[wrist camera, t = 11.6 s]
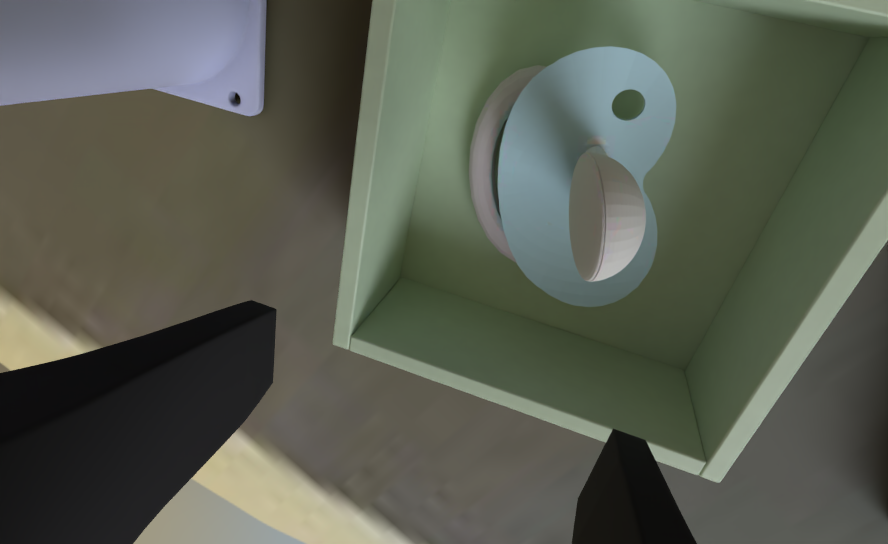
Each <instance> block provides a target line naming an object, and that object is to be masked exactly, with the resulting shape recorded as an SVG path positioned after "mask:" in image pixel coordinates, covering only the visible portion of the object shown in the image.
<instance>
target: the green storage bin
mask: <svg viewBox="0 0 888 544" xmlns="http://www.w3.org/2000/svg"><path fill="white" fill-rule="evenodd" d="M607 46H613V47H621V48H628V49H631V50H634V51H637V52H640V53H642V54H644V55H646V56H647V57H649V58H650V59H652V60H653V61H655V62H656V63H657V64H658V65H659V66H660V67H661V68H662V69H663V70H664V71H665V73H666V74H667V76H668V78H669V80H670V82H671V84H672V86H673V89H674V93H675V98H676V117H675V124H674V127H673V131H672V135H671V138H670V140H669V142H668V144H667V146H666V148H665V150H664V152H663V153H662V155H661V156H660V158H659V159H658V161H657V162H656V164H655V165H654V166H653V167H652V168H651V169H650V170H649V171H648V172H647V173H646V175H645V177H644V180H643V189H644V192H645V194H646V195H647V196H648V198H649V200H650V202H651V205H652V208H653V211H654V213H655V217H656V223H657V247H656V252H655V256H654V260H653V263H652V266H651V268H650V270H649V271H648V273H647V275H646V276H645V278H644V279H643V280H642V282H641V283H640V284H639V286H638V287H637V288H636V289H634V290H633V291H632V292H631V293H629V294H628V295H627V296H626V297H624V298H622V299H620V300H618V301H616V302H614V303H610V304H607V305H603V306H597V307H584V306H574V305H571V304H568V303H565V302H562V301H560V300H558V299H556V298H554V297H552V296H550V295H548V294H547V293H546V292H545V291H543V290H542V289H541V288H539V287H537V286H536V285H535V284H534V283H533V282H532V281H531V280H529V279H528V278H527V277H526V275H525V274H524V272H523V271H522V270H521V269H520V267H519V266H518V265H517V263H516V262H514V261H512V260H511V259H509V258H508V257H506V256H505V255H503V254H502V253H500V252H499V251H498V249H497V248H496V247H495V246H494V245H493V244H492V242H491V241H490V240H489V239H488V238H487V236H486V234H485V232H484V230H483V228H482V226H481V224H480V222H479V221H478V218H477V215H476V211H475V208H474V204H473V201H472V198H471V189H470V180H469V160H470V146H471V142H472V138H473V134H474V130H475V126H476V122H477V120H478V118H479V116H480V114H481V111H482V109H483V107H484V105H485V103H486V101H487V99H488V98H489V97H490V95H491V94H492V93H493V92H494V90H495V89H496V88H497V87H498V85H499V84H500V83H501V82H502V81H503V80H505V79H506V78H507V77H509V76H510V75H512V74H513V73H515V72H516V71H518V70H520V69H524V68H528V67H532V66H536V65H540V66H545V67H547V66H549V65H551V64H553V63H555V62H556V61H558V60H559V59H561V58H563V57H565V56H568V55H570V54H572V53H575V52H577V51H581V50H585V49H589V48H593V47H607ZM643 107H644V97H643V95H642V94H641V93H640V92H638V91H636V90H632V89H629V90H624V91H622V92H620V93H619V94H617V95H616V96H615V98H614V100H613V102H612V110H613V113H614V114H615V115H616V116H617V117H619V118H621V119H631V118H634V117H636V116H637V115H638V114H640V112H641V111H642V109H643ZM507 121H508V120H507ZM506 123H507V122H506ZM505 126H506V125H505ZM504 129H505V127H504ZM504 129H503V131H502V133H501V136H500V139H499V143H498V147H497V151H496V159H495V171H494V172H495V184H496V191H497V195H498V164H499V153H500V147H501V142H502V138H503V134H504ZM498 199H499V197H498ZM887 240H888V0H372V8H371V17H370V25H369V34H368V42H367V51H366V59H365V68H364V76H363V85H362V94H361V102H360V111H359V119H358V128H357V136H356V145H355V154H354V162H353V171H352V179H351V188H350V196H349V205H348V213H347V222H346V231H345V239H344V248H343V256H342V265H341V273H340V282H339V290H338V299H337V308H336V316H335V325H334V333H333V342H332V343H333V344H334V345H336V346H339V347H342V348H345V349H350V351H353V352H356V353H358V354H361V355H364V356H367V357H370V358H372V359H375V360H378V361H381V362H383V363H386V364H389V365H392V366H395V367H397V368H400V369H403V370H406V371H409V372H411V373H414V374H417V375H420V376H422V377H425V378H428V379H431V380H434V381H436V382H439V383H442V384H445V385H447V386H450V387H453V388H456V389H459V390H461V391H464V392H467V393H470V394H472V395H475V396H478V397H481V398H484V399H486V400H489V401H492V402H495V403H497V404H500V405H503V406H506V407H509V408H511V409H514V410H517V411H520V412H522V413H525V414H528V415H531V416H534V417H536V418H539V419H542V420H545V421H548V422H550V423H553V424H556V425H559V426H561V427H564V428H567V429H570V430H573V431H575V432H578V433H581V434H584V435H586V436H589V437H592V438H595V439H598V440H600V441H603V442H607V440H608V438H609V436H610V434H611V432H612V430H613V429H616V430H619V431H622V432H625V433H627V434H630V435H633V436H636V437H639V438H641V439H644V440H646V442H647V444H648V446H649V448H650V450H651V452H652V454H653V456H654V458H655V460H656V461H659V462H661V463H664V464H667V465H670V466H673V467H675V468H678V469H681V470H684V471H686V472H689V473H692V474H695V475H698V474H699V475H700V476H701V477H703V478H706V479H709V480H712V481H714V482H717V483H720V482H721V480H722V479H723V478H724V476H725V475H726V473H727V472H728V470H729V469H730V467H731V466H732V464H733V463H734V462H735V460H736V459H737V457H738V456H739V454H740V453H741V451H742V450H743V449H744V447H745V446H746V444H747V443H748V441H749V440H750V438H751V437H752V436H753V434H754V433H755V431H756V430H757V428H758V427H759V425H760V424H761V423H762V421H763V420H764V418H765V417H766V415H767V414H768V412H769V411H770V410H771V408H772V407H773V405H774V404H775V402H776V401H777V399H778V398H779V397H780V395H781V394H782V392H783V391H784V389H785V388H786V386H787V385H788V383H789V382H790V381H791V379H792V378H793V376H794V375H795V373H796V372H797V370H798V369H799V368H800V366H801V365H802V363H803V362H804V360H805V359H806V357H807V356H808V355H809V353H810V352H811V350H812V349H813V347H814V346H815V344H816V343H817V342H818V340H819V339H820V337H821V336H822V334H823V333H824V331H825V330H826V329H827V327H828V326H829V324H830V323H831V321H832V320H833V318H834V317H835V316H836V314H837V313H838V311H839V310H840V308H841V307H842V305H843V304H844V302H845V301H846V300H847V298H848V297H849V295H850V294H851V292H852V291H853V289H854V288H855V287H856V285H857V284H858V282H859V281H860V279H861V278H862V276H863V275H864V274H865V272H866V271H867V269H868V268H869V266H870V265H871V263H872V262H873V261H874V259H875V258H876V256H877V255H878V253H879V252H880V250H881V249H882V248H883V246H884V245H885V243H886V242H887Z"/></svg>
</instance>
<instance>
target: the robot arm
mask: <svg viewBox="0 0 888 544" xmlns="http://www.w3.org/2000/svg"><path fill="white" fill-rule="evenodd" d="M266 6H267V0H0V106H1V105H9V104H18V103H27V102H36V101H45V100H54V99H62V98H71V97H80V96H89V95H98V94H107V93H115V92H124V91H133V90H142V89H151V88H152V89H155V90H159V91H162V92H166V93H169V94H173V95H176V96H180V97H183V98H187V99H190V100H194V101H197V102H201V103H204V104H207V105H211V106H214V107H218V108H221V109H225V110H228V111H232V112H235V113H239V114H242V115H246V116H254V115H257V114H259V113H261V111H262V110H263V106H264V78H265V42H266ZM236 93H238V95H239V96H240V100H241V102H240V104H238V103H237V101H236V99H235V94H236ZM275 328H276V309H275V308H272V307H269V306H266V305H263V304H261V303H258V302H255V301H252V300H250V301H247V302H243V303H240V304H237V305H233V306H230V307H227V308H224V309H221V310H218V311H215V312H212V313H209V314H206V315H203V316H201V317H198V318H195V319H192V320H189V321H186V322H183V323H180V324H177V325H174V326H171V327H168V328H165V329H162V330H159V331H156V332H153V333H150V334H147V335H144V336H140V337H137V338H134V339H130V340H127V341H124V342H120V343H117V344H114V345H110V346H107V347H104V348H100V349H97V350H94V351H90V352H87V353H83V354H80V355H76V356H72V357H68V358H64V359H60V360H56V361H52V362H48V363H44V364H39V365H35V366H31V367H26V368H22V369H18V370H13V371H8V372H4V373H0V544H133V543H134V542H135V540H136V539H137V538H138V537H139V535H140V534H141V533H142V532H143V530H144V529H145V528H146V527H147V526H148V524H149V523H150V522H151V521H152V520H153V519H154V518H155V516H156V515H157V514H158V513H159V512H160V511H161V510H162V509H163V507H164V506H165V505H166V504H167V503H168V502H169V501H170V500H171V499H172V498H173V497H174V496H175V495H176V494H177V493H178V491H179V490H180V489H181V488H182V487H183V486H184V485H185V484H186V483H187V482H188V481H189V480H190V479H191V478H192V477H193V476H194V475H195V474H196V473H197V471H198V470H199V469H200V468H201V467H202V466H203V465H204V464H205V463H206V462H207V461H208V460H209V459H210V458H211V457H212V456H213V455H214V454H215V453H216V451H217V450H218V449H219V448H220V447H221V446H222V445H223V444H224V443H225V442H226V441H227V440H228V439H229V438H230V437H231V435H232V434H233V433H234V432H235V431H236V430H237V429H238V428H239V427H240V426H241V425H242V424H243V422H244V421H245V420H246V419H247V417H248V416H249V415H250V413H251V412H252V411H253V409H254V408H255V407H256V405H257V404H258V403H259V401H260V400H261V399H262V397H263V396H264V394H265V393H266V391H267V390H268V389H269V387H270V386H271V384H272V383H273V369H274V349H275ZM572 544H697V543H696V541H695V539H694V537H693V536H692V534H691V532H690V530H689V528H688V526H687V524H686V522H685V520H684V518H683V516H682V514H681V512H680V510H679V508H678V506H677V504H676V502H675V500H674V498H673V496H672V494H671V492H670V490H669V488H668V485H667V483H666V481H665V479H664V477H663V475H662V473H661V471H660V469H659V467H658V464H657V462H656V460H655V458H654V456H653V454H652V452H651V450H650V448H649V446H648V444H647V442H646V440H644V439H641V438H639V437H636V436H633V435H630V434H627V433H625V432H622V431H619V430H616V429H613V430H612V432H611V434H610V436H609V438H608V440H607V442H606V444H605V446H604V448H603V450H602V452H601V454H600V456H599V458H598V460H597V462H596V464H595V466H594V468H593V470H592V472H591V474H590V476H589V478H588V480H587V482H586V484H585V486H584V488H583V490H582V492H581V494H580V496H579V498H578V502H577V509H576V516H575V523H574V531H573V539H572Z"/></svg>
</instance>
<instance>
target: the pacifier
mask: <svg viewBox="0 0 888 544" xmlns="http://www.w3.org/2000/svg"><path fill="white" fill-rule="evenodd" d="M629 89H632V90H636V91H638V92H640V93H641V94H642V95H643V97H644V107H643V109H642V111H641V112H640V114H638V115H637V116H636V117H634V118H631V119H621V118H619V117H617V116H616V115H615V114H614V113H613V110H612V102H613V100H614V98H615V96H616V95H617V94H619V93H620V92H622V91H624V90H629ZM675 117H676V98H675V93H674V89H673V86H672V84H671V82H670V80H669V78H668V76H667V74H666V73H665V71H664V70H663V69H662V68H661V67H660V66H659V65H658V64H657V63H656V62H655V61H653V60H652V59H650V58H649V57H647V56H646V55H644V54H642V53H640V52H637V51H634V50H631V49H628V48H621V47H613V46H607V47H593V48H589V49H585V50H581V51H577V52H575V53H572V54H570V55H568V56H565V57H563V58H561V59H559V60H558V61H556V62H555V63H553V64H551V65H549V66H547V67H545V66H540V65H536V66H532V67H528V68H524V69H520V70H518V71H516V72H515V73H513V74H512V75H510V76H509V77H507V78H506V79H505V80H503V81H502V82H501V83H500V84H499V85H498V87H497V88H496V89H495V90H494V92H493V93H492V94H491V95H490V97H489V98H488V99H487V101H486V103H485V105H484V107H483V109H482V111H481V114H480V116H479V118H478V120H477V122H476V126H475V130H474V134H473V138H472V142H471V146H470V160H469V180H470V189H471V198H472V201H473V204H474V208H475V211H476V215H477V218H478V221H479V222H480V224H481V226H482V228H483V230H484V232H485V234H486V236H487V238H488V239H489V240H490V241H491V242H492V244H493V245H494V246H495V247H496V248H497V249H498V251H499V252H500V253H502V254H503V255H505V256H506V257H508V258H509V259H511V260H512V261H514V262H516V263H517V265H518V266H519V267H520V269H521V270H522V271H523V272H524V274H525V275H526V277H527V278H528V279H529V280H531V281H532V282H533V283H534V284H535V285H536V286H537V287H539V288H541V289H542V290H543V291H545V292H546V293H547V294H548V295H550V296H552V297H554V298H556V299H558V300H560V301H562V302H565V303H568V304H571V305H574V306H584V307H597V306H603V305H607V304H610V303H614V302H616V301H618V300H620V299H622V298H624V297H626V296H627V295H628V294H629V293H631V292H632V291H633V290H634V289H636V288H637V287H638V286H639V284H640V283H641V282H642V280H643V279H644V278H645V276H646V275H647V273H648V271H649V270H650V268H651V266H652V263H653V260H654V256H655V252H656V247H657V223H656V217H655V213H654V211H653V208H652V205H651V202H650V200H649V198H648V196H647V195H646V194H645V192H644V189H643V180H644V177H645V175H646V173H647V172H648V171H649V170H650V169H651V168H652V167H653V166H654V165H655V164H656V162H657V161H658V159H659V158H660V156H661V155H662V153H663V152H664V150H665V148H666V146H667V144H668V142H669V140H670V138H671V135H672V131H673V127H674V124H675ZM507 120H508V121H507ZM506 122H507V123H506ZM505 125H506V126H505ZM504 127H505V129H504ZM503 129H504V134H503V138H502V142H501V147H500V153H499V164H498V195H497V191H496V184H495V172H494V171H495V159H496V151H497V147H498V143H499V139H500V136H501V133H502V131H503ZM498 197H499V199H498Z"/></svg>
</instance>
